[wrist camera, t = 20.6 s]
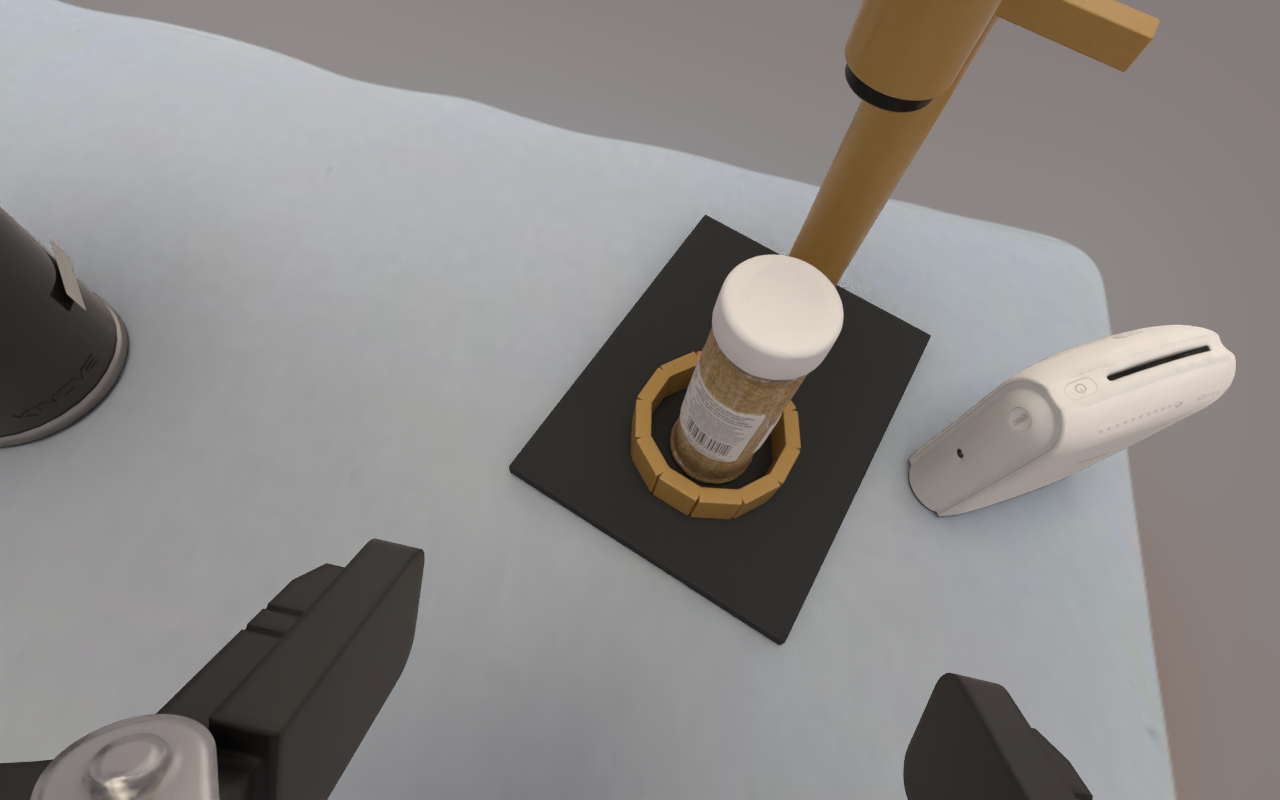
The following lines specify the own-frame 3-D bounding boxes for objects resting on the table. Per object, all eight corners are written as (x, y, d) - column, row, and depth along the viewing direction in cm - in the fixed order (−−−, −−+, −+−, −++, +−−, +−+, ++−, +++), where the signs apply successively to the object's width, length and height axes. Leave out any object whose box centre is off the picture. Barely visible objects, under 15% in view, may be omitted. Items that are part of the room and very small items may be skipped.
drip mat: (509, 472, 34) (508, 466, 34) (702, 222, 43) (705, 214, 43) (779, 645, 32) (784, 643, 31) (925, 342, 41) (931, 335, 40)
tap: (600, 462, 34) (685, -169, 10) (746, 255, 41) (996, -399, 17) (769, 568, 33) (1338, 113, 9) (890, 333, 40) (1382, -269, 16)
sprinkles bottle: (767, 458, 35) (874, 318, 23) (701, 503, 34) (779, 377, 22) (716, 394, 37) (791, 231, 25) (650, 434, 35) (696, 280, 23)
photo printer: (929, 530, 35) (1095, 439, 24) (891, 458, 37) (1030, 343, 26) (1080, 477, 38) (1293, 373, 27) (1038, 412, 39) (1221, 289, 28)
